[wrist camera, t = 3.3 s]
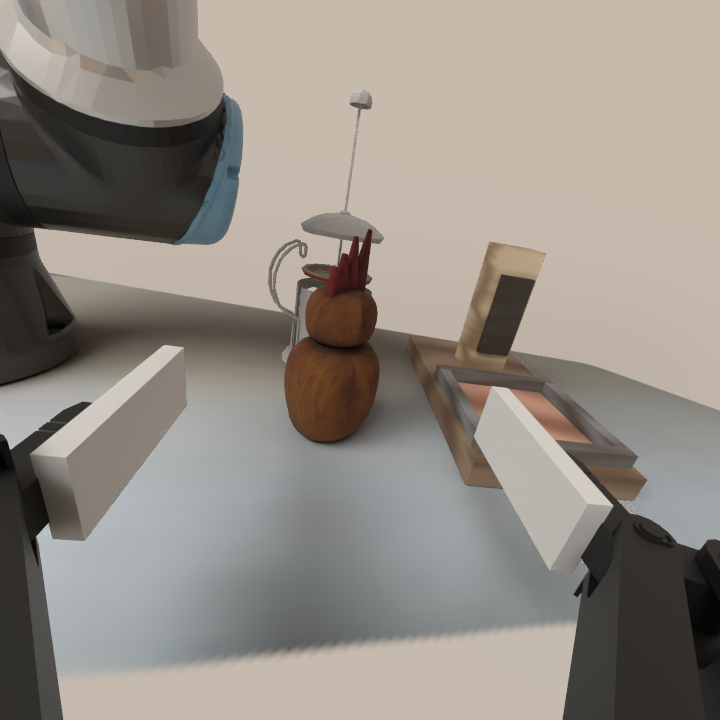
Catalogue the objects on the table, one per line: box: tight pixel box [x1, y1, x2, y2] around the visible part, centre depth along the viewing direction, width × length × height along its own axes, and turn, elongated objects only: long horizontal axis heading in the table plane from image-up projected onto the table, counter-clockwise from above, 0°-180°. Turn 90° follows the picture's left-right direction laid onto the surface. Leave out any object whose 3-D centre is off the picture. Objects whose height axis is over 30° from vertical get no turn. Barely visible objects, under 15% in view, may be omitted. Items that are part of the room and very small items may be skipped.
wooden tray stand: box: [407, 242, 647, 501], centre depth 33 cm, size 24×13×15 cm, turn 3°
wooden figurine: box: [284, 229, 380, 442], centre depth 25 cm, size 7×6×15 cm
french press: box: [268, 89, 384, 363], centre depth 34 cm, size 10×12×25 cm
